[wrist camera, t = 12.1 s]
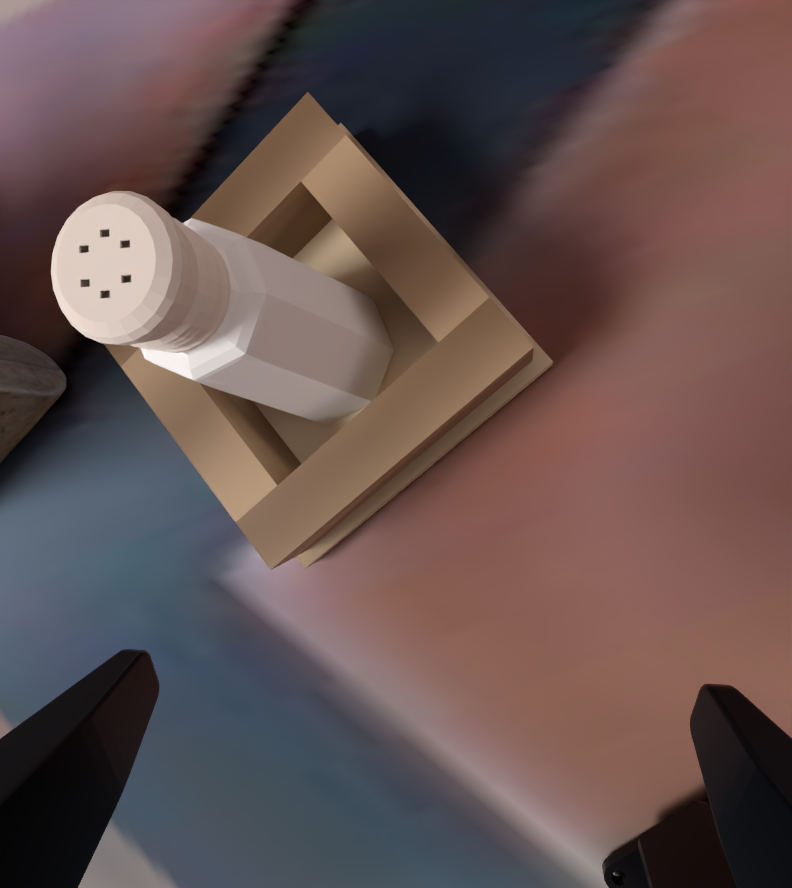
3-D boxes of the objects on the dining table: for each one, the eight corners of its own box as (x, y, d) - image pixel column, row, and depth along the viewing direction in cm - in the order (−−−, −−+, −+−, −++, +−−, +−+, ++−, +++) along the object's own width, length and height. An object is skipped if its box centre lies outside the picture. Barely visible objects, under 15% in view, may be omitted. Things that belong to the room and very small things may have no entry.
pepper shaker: (396, 423, 20) (243, 411, 9) (262, 425, 21) (-12, 416, 10) (394, 276, 20) (238, 86, 9) (260, 287, 21) (-19, 133, 10)
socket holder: (551, 365, 19) (558, 348, 15) (314, 562, 22) (269, 590, 18) (349, 137, 21) (309, 69, 17) (149, 342, 23) (73, 324, 19)
